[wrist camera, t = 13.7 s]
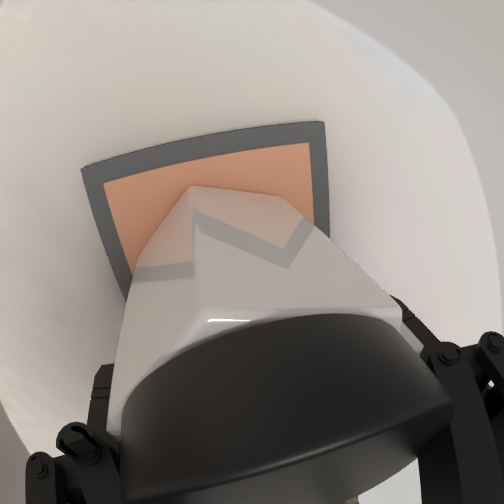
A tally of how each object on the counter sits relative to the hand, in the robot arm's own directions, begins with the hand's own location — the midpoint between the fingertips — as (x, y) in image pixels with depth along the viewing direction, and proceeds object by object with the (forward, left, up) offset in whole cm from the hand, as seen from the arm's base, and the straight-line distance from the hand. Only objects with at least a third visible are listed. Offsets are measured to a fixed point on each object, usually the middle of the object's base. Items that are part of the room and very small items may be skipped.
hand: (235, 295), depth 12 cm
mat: (0, 0, -4) cm, 4 cm away
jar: (0, 0, -3) cm, 3 cm away
